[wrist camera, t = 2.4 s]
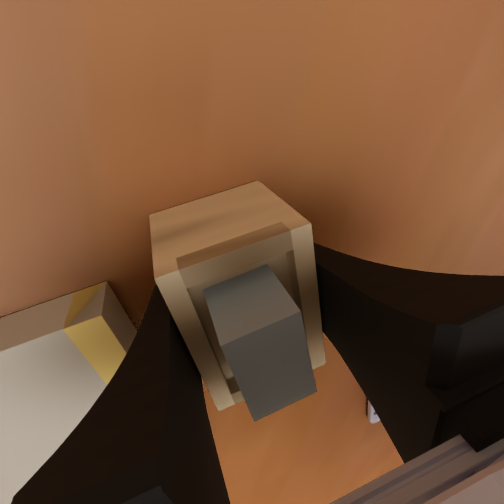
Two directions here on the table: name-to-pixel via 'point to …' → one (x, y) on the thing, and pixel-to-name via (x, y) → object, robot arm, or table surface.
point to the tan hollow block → (232, 269)
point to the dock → (54, 375)
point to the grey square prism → (262, 340)
